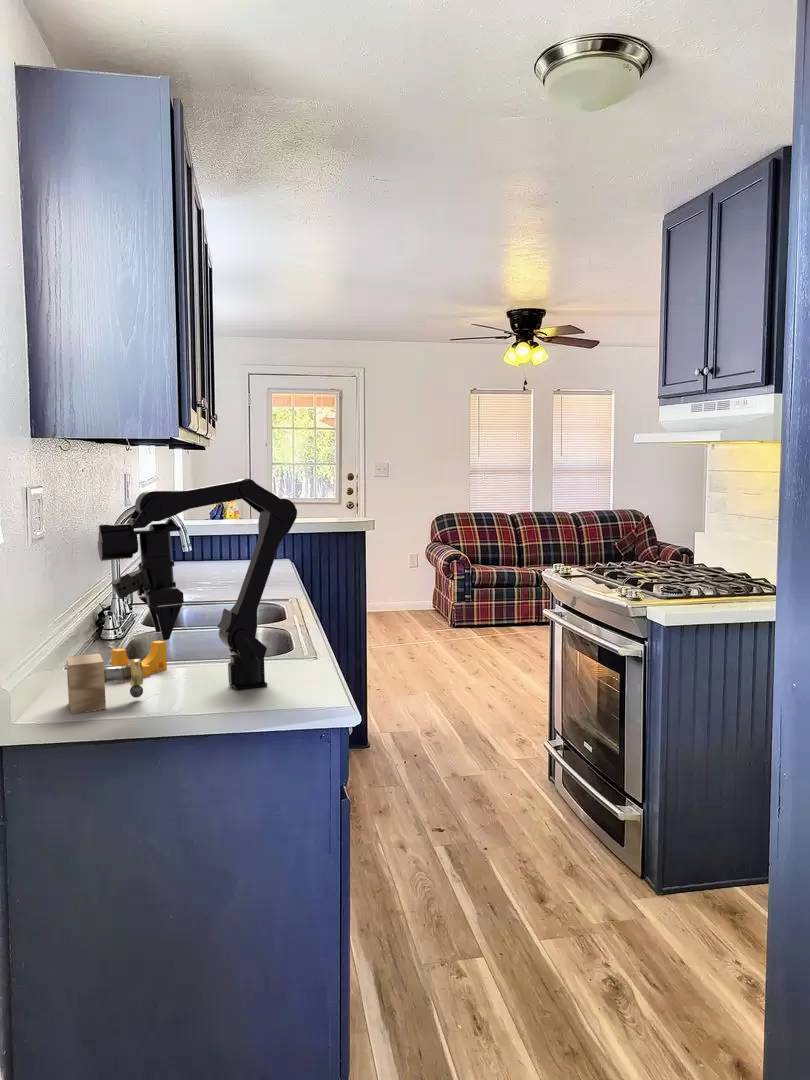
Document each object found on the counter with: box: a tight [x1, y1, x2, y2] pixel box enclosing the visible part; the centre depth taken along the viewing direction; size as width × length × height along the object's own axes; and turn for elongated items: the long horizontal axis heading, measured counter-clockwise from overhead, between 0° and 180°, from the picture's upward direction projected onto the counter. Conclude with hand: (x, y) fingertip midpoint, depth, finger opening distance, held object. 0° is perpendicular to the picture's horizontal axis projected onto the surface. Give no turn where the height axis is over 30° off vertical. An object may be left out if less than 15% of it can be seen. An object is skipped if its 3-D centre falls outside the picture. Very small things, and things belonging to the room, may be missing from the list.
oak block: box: [66, 653, 107, 715], centre depth 157 cm, size 6×8×9 cm
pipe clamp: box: [110, 640, 168, 678], centre depth 181 cm, size 12×4×6 cm, turn 142°
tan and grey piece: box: [104, 658, 144, 699], centre depth 159 cm, size 10×5×7 cm, turn 115°
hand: (162, 635), depth 162 cm, fingers open, 9 cm apart
